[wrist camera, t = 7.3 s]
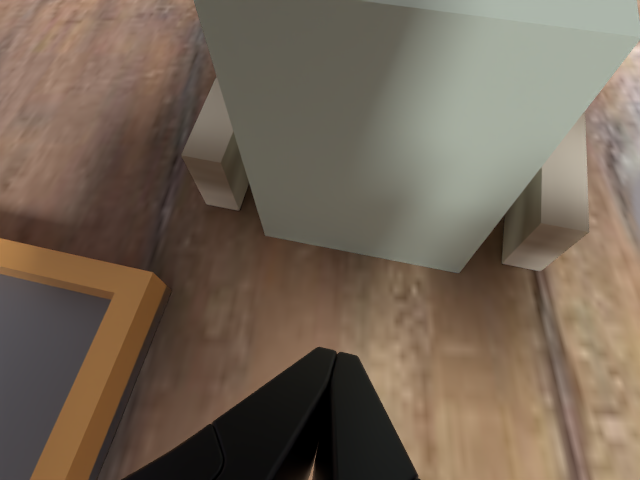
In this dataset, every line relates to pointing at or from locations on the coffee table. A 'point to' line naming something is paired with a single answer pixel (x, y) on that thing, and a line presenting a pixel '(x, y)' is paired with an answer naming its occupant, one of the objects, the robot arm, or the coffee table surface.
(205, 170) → the birch channel
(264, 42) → the sage block
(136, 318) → the tray
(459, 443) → the coffee table surface
